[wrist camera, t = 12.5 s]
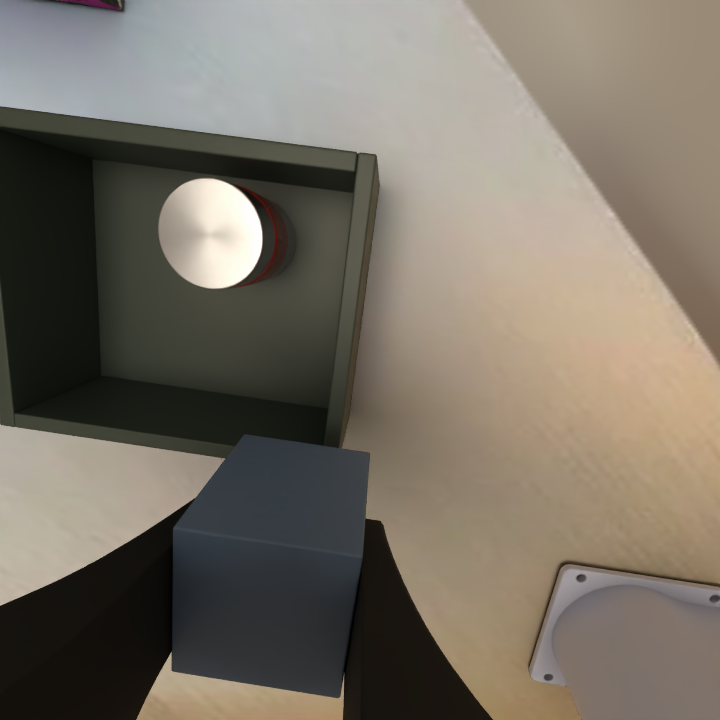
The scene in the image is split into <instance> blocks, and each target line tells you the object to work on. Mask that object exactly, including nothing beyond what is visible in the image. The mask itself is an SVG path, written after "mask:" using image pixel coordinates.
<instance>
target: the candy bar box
mask: <svg viewBox="0 0 720 720" xmlns="http://www.w3.org/2000/svg"><path fill="white" fill-rule="evenodd" d="M53 1H60V2H67V3H74V4H82V5H89V6H96V7H103V8H110V9H116V10H121V9H122V4H123V0H53Z"/></svg>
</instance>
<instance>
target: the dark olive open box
mask: <svg viewBox="0 0 720 720" xmlns="http://www.w3.org/2000/svg"><path fill="white" fill-rule="evenodd" d="M198 177H214V178H219V179H222V180H225V181H228V182H230V183H232V184H236V185H239V186H242V187H245V188H247V189H249V190H251V191H253V192H256V193H258V194H260V195H262V196H263V197H265V198H266V199H268V200H270V201H272V202H274V203H275V204H277V205H278V206H280V207H281V208H282V209H283V210H284V211H285V213H286V214H287V215H288V217H289V218H290V220H291V222H292V225H293V227H294V231H295V237H296V246H295V252H294V255H293V258H292V260H291V262H290V263H289V265H288V266H287V268H286V269H285V270H284V271H283V272H282V273H280V274H279V275H277V276H275V277H273V278H271V279H268V280H264V281H262V282H259V283H256V284H252V285H248V286H243V287H238V288H229V289H224V290H208V289H203V288H200V287H197V286H195V285H193V284H191V283H189V282H187V281H186V280H184V279H183V278H182V277H180V276H179V275H178V274H177V273H176V272H175V271H174V270H173V269H172V267H171V266H170V265H169V263H168V262H167V260H166V258H165V256H164V254H163V252H162V250H161V246H160V243H159V238H158V219H159V214H160V211H161V208H162V205H163V203H164V201H165V200H166V198H167V197H168V195H169V194H170V193H171V192H172V191H173V190H174V189H175V188H176V187H177V186H179V185H180V184H182V183H184V182H185V181H188V180H190V179H194V178H198ZM379 186H380V183H379V174H378V163H377V156H376V155H375V154H368V153H358V154H357V152H352V151H344V150H337V149H329V148H321V147H313V146H305V145H298V144H290V143H282V142H274V141H266V140H259V139H251V138H243V137H235V136H227V135H220V134H212V133H204V132H196V131H188V130H181V129H173V128H165V127H157V126H149V125H142V124H134V123H126V122H118V121H110V120H102V119H95V118H87V117H79V116H71V115H63V114H56V113H48V112H40V111H32V110H24V109H17V108H9V107H1V106H0V424H1V425H5V426H11V427H19V428H26V429H32V430H39V431H46V432H52V433H59V434H66V435H72V436H79V437H86V438H93V439H99V440H106V441H113V442H119V443H126V444H133V445H139V446H146V447H153V448H159V449H166V450H173V451H180V452H186V453H193V454H200V455H206V456H213V457H220V458H227V456H228V455H229V454H230V452H231V451H232V450H233V449H234V447H235V446H236V445H237V443H238V442H239V441H240V439H241V438H242V437H243V435H245V434H246V435H253V436H260V437H267V438H274V439H280V440H287V441H294V442H301V443H307V444H314V445H321V446H328V447H334V448H341V449H342V446H343V442H344V437H345V433H346V428H347V424H348V419H349V413H350V405H351V398H352V390H353V383H354V375H355V367H356V360H357V352H358V345H359V337H360V330H361V322H362V314H363V307H364V299H365V292H366V284H367V277H368V269H369V261H370V254H371V246H372V239H373V231H374V224H375V216H376V208H377V201H378V193H379Z"/></svg>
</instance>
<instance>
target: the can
mask: <svg viewBox="0 0 720 720" xmlns="http://www.w3.org/2000/svg"><path fill="white" fill-rule="evenodd" d="M158 238H159V243H160V246H161V250H162V252H163V254H164V256H165V258H166V260H167V262H168V263H169V265H170V266H171V267H172V269H173V270H174V271H175V272H176V273H177V274H178V275H179V276H180V277H182V278H183V279H184V280H186V281H187V282H189V283H191V284H193V285H195V286H197V287H200V288H203V289H208V290H224V289H229V288H238V287H243V286H248V285H252V284H256V283H259V282H262V281H264V280H268V279H271V278H273V277H275V276H277V275H279V274H280V273H282V272H283V271H284V270H285V269H286V268H287V266H288V265H289V263H290V262H291V260H292V258H293V255H294V252H295V246H296V237H295V231H294V227H293V225H292V222H291V220H290V218H289V217H288V215H287V214H286V213H285V211H284V210H283V209H282V208H281V207H280V206H278V205H277V204H275V203H274V202H272V201H270V200H268V199H266V198H265V197H263V196H262V195H260V194H258V193H256V192H253V191H251V190H249V189H247V188H245V187H242V186H239V185H236V184H232V183H230V182H228V181H225V180H222V179H219V178H214V177H198V178H194V179H190V180H188V181H185V182H184V183H182V184H180V185H179V186H177V187H176V188H175V189H174V190H173V191H172V192H171V193H170V194H169V195H168V197H167V198H166V200H165V201H164V203H163V205H162V208H161V211H160V214H159V219H158Z"/></svg>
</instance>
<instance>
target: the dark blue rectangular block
mask: <svg viewBox="0 0 720 720" xmlns="http://www.w3.org/2000/svg"><path fill="white" fill-rule="evenodd" d="M369 461H370V453H368V452H362V451H355V450H348V449H341V448H334V447H328V446H321V445H314V444H307V443H301V442H294V441H287V440H280V439H274V438H267V437H260V436H253V435H246V434H245V435H243V437H242V438H241V439H240V441H239V442H238V443H237V445H236V446H235V447H234V449H233V450H232V451H231V452H230V454H229V455H228V456H227V458H226V459H225V460H224V462H223V463H222V464H221V466H220V467H219V468H218V470H217V471H216V472H215V473H214V475H213V476H212V477H211V479H210V480H209V481H208V483H207V484H206V485H205V487H204V488H203V489H202V490H201V492H200V493H199V494H198V496H197V497H196V498H195V500H194V501H193V502H192V504H191V505H190V506H189V508H188V509H187V510H186V511H185V513H184V514H183V515H182V517H181V518H180V519H179V521H178V522H177V523H176V525H175V526H174V528H173V585H172V671H173V672H179V673H185V674H191V675H197V676H204V677H210V678H216V679H222V680H228V681H235V682H241V683H247V684H253V685H259V686H266V687H272V688H278V689H284V690H290V691H297V692H303V693H309V694H315V695H321V696H328V697H334V698H339V697H340V695H341V689H342V683H343V677H344V670H345V664H346V658H347V652H348V645H349V639H350V633H351V627H352V621H353V614H354V608H355V602H356V596H357V589H358V583H359V577H360V571H361V564H362V558H363V545H364V531H365V517H366V503H367V489H368V475H369Z"/></svg>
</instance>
